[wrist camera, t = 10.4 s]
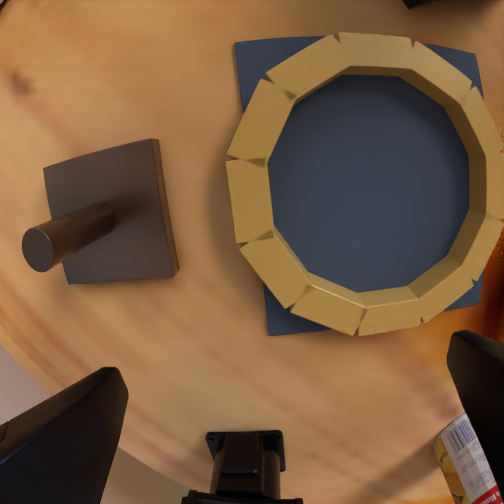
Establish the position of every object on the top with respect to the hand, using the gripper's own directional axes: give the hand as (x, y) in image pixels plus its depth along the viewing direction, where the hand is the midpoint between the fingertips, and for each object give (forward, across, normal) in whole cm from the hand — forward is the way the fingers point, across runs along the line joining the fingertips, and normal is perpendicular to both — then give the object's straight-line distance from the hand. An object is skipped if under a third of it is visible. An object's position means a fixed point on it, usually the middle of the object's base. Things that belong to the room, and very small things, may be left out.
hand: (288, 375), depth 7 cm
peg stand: (+12, +10, -3) cm, 16 cm away
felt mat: (+12, -7, -3) cm, 14 cm away
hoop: (+11, -7, -3) cm, 13 cm away
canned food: (+12, -19, +23) cm, 32 cm away
